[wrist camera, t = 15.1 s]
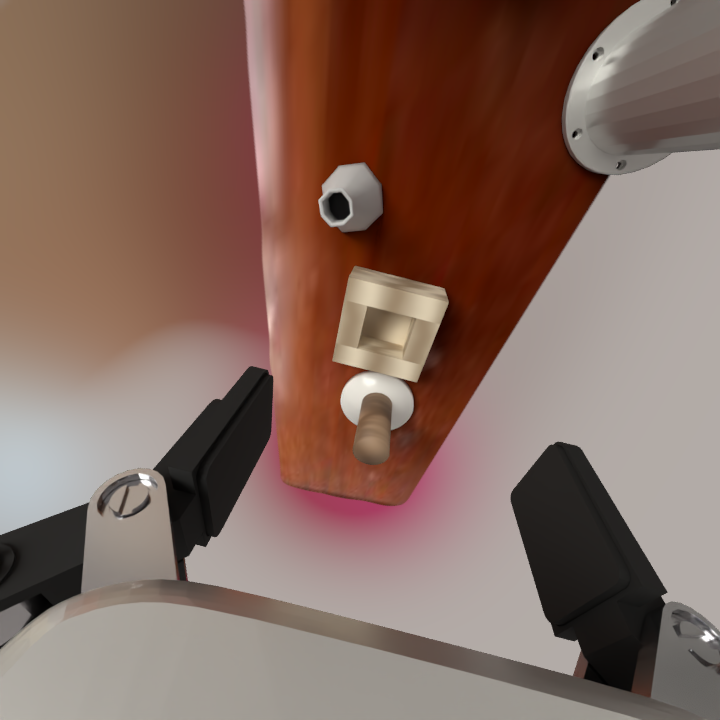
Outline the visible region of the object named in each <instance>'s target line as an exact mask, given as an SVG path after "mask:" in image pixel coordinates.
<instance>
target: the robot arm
mask: <svg viewBox="0 0 720 720" xmlns="http://www.w3.org/2000/svg"><path fill="white" fill-rule="evenodd" d="M671 1H672V6H671V4H670V3H671ZM593 54H595V55H596V58H595V60H593V59H592V56H593ZM562 132H563V137H564V141H565V145H566V147H567V149H568V151H569V153H570V155H571V156H572V157H573V159H574V160H575V161H576V162H577V163H578V164H579V165H581V166H582V167H584V168H585V169H586V170H589V171H592V172H595V173H598V174H607V175H621V174H626V173H631V172H635V171H638V170H641V169H644V168H646V167H649V166H651V165H653V164H655V163H657V162H658V161H660V160H662V159H664V158H665V157H667V156H668V155H670V154H671V153H672V152H684V151H685V152H686V151H700V150H714V149H720V0H641V1H639V2H638V3H636V4H634V5H633V6H631V7H630V8H629V9H627V10H626V11H625V12H623V13H622V14H621V15H619V16H618V17H617V18H616V19H615V20H614V21H613V22H612V23H611V24H610V25H608V26H607V27H606V28H605V29H604V30H603V31H602V32H601V34H600V35H599V36H598V37H597V38H596V40H595V41H594V42H593V43H592V45H591V46H590V47H589V48H588V50H587V52H586V53H585V55H584V56H583V58H582V60H581V61H580V63H579V64H578V66H577V68H576V70H575V73H574V75H573V77H572V79H571V81H570V84H569V87H568V90H567V93H566V97H565V100H564V106H563V113H562ZM573 132H575V133H576V135H575V137H574V138H572V134H573ZM617 163H618V167H617V168H616V165H617ZM272 399H273V376H271V375H269V372H268V370H265V369H261V368H257V367H253V366H251V367H249V368H248V369H247V370H246V371H245V372H244V374H243V375H242V376H241V377H240V379H239V380H238V381H237V382H236V384H235V385H234V386H233V387H232V388H231V390H230V391H229V392H228V393H227V395H226V396H225V397H224V398H223V399H222V400H220V399H215V400H213V401H212V402H211V403H210V404H209V405H208V406H207V407H206V408H205V410H204V411H203V412H202V413H201V414H200V415H199V416H198V418H197V419H196V420H195V421H194V422H193V424H192V425H191V426H190V427H189V428H188V429H187V430H186V432H185V433H184V434H183V435H182V436H181V437H180V439H179V440H178V441H177V442H176V443H175V444H174V446H173V447H172V448H171V449H170V450H169V451H168V453H167V454H166V455H165V456H164V457H163V458H162V460H161V461H160V462H159V463H158V464H157V465H156V467H155V468H154V469H153V470H151V469H141V468H138V469H133V470H128V471H125V472H123V473H120V474H117V475H115V476H114V477H113V478H111V479H109V480H108V481H106V482H105V483H104V484H102V485H101V486H100V487H99V488H98V489H97V490H96V492H95V493H94V494H93V496H92V497H91V499H90V502H89V503H87V504H84V505H81V506H78V507H76V508H73V509H70V510H67V511H65V512H62V513H60V514H57V515H54V516H51V517H48V518H46V519H43V520H40V521H38V522H35V523H32V524H29V525H27V526H24V527H21V528H19V529H16V530H13V531H10V532H8V533H5V534H2V535H0V720H720V632H719V631H718V629H717V628H715V626H714V625H713V624H711V623H710V622H709V621H708V620H707V619H706V618H704V617H703V616H702V615H701V614H699V613H698V612H696V611H695V610H693V609H692V608H690V607H688V606H686V605H684V604H682V603H678V602H669V603H667V604H665V602H664V601H663V599H662V597H661V596H662V595H664V594H666V593H667V591H666V589H665V587H664V586H663V584H662V582H661V581H660V579H659V577H658V576H657V574H656V572H655V571H654V569H653V567H652V566H651V564H650V562H649V561H648V559H647V557H646V556H645V554H644V552H643V551H642V549H641V548H640V546H639V544H638V542H637V541H636V539H635V537H634V536H633V535H632V533H631V531H630V529H629V528H628V526H627V524H626V523H625V521H624V519H623V518H622V516H621V515H620V513H619V511H618V510H617V508H616V506H615V504H614V503H613V501H612V499H611V498H610V496H609V494H608V493H607V491H606V489H605V488H604V486H603V484H602V483H601V481H600V479H599V478H598V476H597V474H596V473H595V471H594V470H593V468H592V466H591V465H590V463H589V461H588V460H587V458H586V456H585V455H584V453H583V451H582V450H581V449H580V448H579V447H578V446H575V445H570V444H567V443H563V442H556V443H555V444H554V445H550V446H548V448H547V449H546V450H545V451H544V452H543V454H542V455H541V456H540V457H539V459H538V460H537V461H536V462H535V464H534V465H533V466H532V467H531V468H530V470H529V471H528V472H527V473H526V475H525V476H524V477H523V478H522V480H521V481H520V482H519V483H518V484H517V486H516V487H515V488H514V489H513V491H512V493H511V504H512V506H513V510H514V514H515V517H516V520H517V524H518V527H519V530H520V534H521V537H522V541H523V544H524V547H525V550H526V554H527V557H528V561H529V564H530V568H531V571H532V574H533V577H534V581H535V584H536V588H537V591H538V594H539V598H540V601H541V605H542V608H543V611H544V614H545V617H546V618H547V620H548V621H549V622H550V623H551V625H552V628H553V632H554V635H555V636H556V637H559V638H564V639H567V640H571V641H576V640H577V639H578V642H579V645H580V647H581V652H580V655H579V659H578V661H577V665H576V668H575V671H574V674H573V676H570V675H567V674H562V673H559V672H555V671H551V670H548V669H544V668H540V667H536V666H532V665H529V664H525V663H521V662H517V661H513V660H510V659H506V658H502V657H498V656H494V655H491V654H487V653H482V652H479V651H475V650H471V649H467V648H464V647H460V646H456V645H452V644H448V643H444V642H440V641H436V640H433V639H429V638H425V637H421V636H417V635H413V634H409V633H405V632H402V631H398V630H394V629H390V628H385V627H382V626H378V625H374V624H370V623H366V622H362V621H358V620H355V619H350V618H346V617H342V616H338V615H334V614H331V613H327V612H323V611H319V610H314V609H311V608H307V607H303V606H299V605H295V604H291V603H287V602H283V601H279V600H275V599H270V598H266V597H262V596H258V595H253V594H249V593H244V592H240V591H236V590H232V589H227V588H223V587H219V586H213V585H207V584H201V583H195V582H189V581H188V578H187V570H186V564H185V557H187V556H189V555H190V553H191V551H192V550H193V548H194V546H195V544H196V545H200V546H204V547H206V546H207V544H208V542H209V540H210V538H211V536H213V537H217V536H218V535H219V533H220V532H221V530H222V528H223V526H224V524H225V522H226V521H227V519H228V517H229V515H230V513H231V511H232V509H233V507H234V505H235V503H236V501H237V500H238V497H239V496H240V494H241V492H242V490H243V488H244V486H245V484H246V482H247V481H248V479H249V477H250V475H251V473H252V471H253V469H254V467H255V465H256V463H257V462H258V460H259V458H260V456H261V454H262V452H263V450H264V448H265V446H266V444H267V442H268V440H269V438H270V435H271V422H272Z"/></svg>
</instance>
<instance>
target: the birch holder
mask: <svg viewBox="0 0 720 720" xmlns="http://www.w3.org/2000/svg"><path fill="white" fill-rule="evenodd" d="M448 303H449V301H448V298H447V295H446V292H445V289H444V288H441V287H437V286H433V285H429V284H425V283H421V282H417V281H413V280H409V279H405V278H401V277H397V276H394V275H390V274H386V273H382V272H378V271H374V270H370V269H366V268H362V267H358V266H355V267H354V269H353V270H352V272H351V274H350V276H349V279H348V284H347V289H346V294H345V299H344V304H343V309H342V315H341V320H340V325H339V330H338V335H337V340H336V345H335V350H334V355H333V361H334V362H338V363H342V364H346V365H350V366H354V367H358V368H362V369H366V370H370V371H374V372H378V373H382V374H386V375H390V376H394V377H397V378H401V379H405V380H409V381H413V382H417V381H418V378H419V376H420V373H421V371H422V368H423V366H424V363H425V361H426V358H427V356H428V353H429V351H430V348H431V346H432V343H433V341H434V338H435V336H436V333H437V331H438V328H439V326H440V323H441V321H442V318H443V316H444V313H445V311H446V308H447V306H448Z"/></svg>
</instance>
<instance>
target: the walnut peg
mask: <svg viewBox="0 0 720 720" xmlns="http://www.w3.org/2000/svg"><path fill="white" fill-rule="evenodd" d="M391 417H392V402H391V400H390V398H389V397H388V396H386V395H384V394H382V393H370V394H368V395H366V396H365V397H364V398H363V400H362V404H361V409H360V414H359V420H358V425H357V430H356V435H355V440H354V446H353V454H354V456H355V457H356V458H357V459H358V460H359V461H361V462H363V463H365V464H370V465H376V464H381V463H383V462H385V461H386V460H387V459H388V457H389V450H390V433H391Z"/></svg>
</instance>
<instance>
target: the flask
mask: <svg viewBox="0 0 720 720" xmlns="http://www.w3.org/2000/svg"><path fill="white" fill-rule="evenodd" d="M322 191H323V196H322V197H321V198H320V199H319V207H320V213H321V217H322V218H323V219H324V220H325V221H326V222H327V224H328V225H329V226H330V227H338V228H339V229H340V230H341V232H351V231H363V230H366V229H367V228H368V227H369V226H370V225H371V224H372V223H373V222H374V221H375V220H376V219H377V218H378V217H379V216H380V215H382V214H383V201H382V185H381V183H380V182H379V181H378V179H377V178H376V177H375V175H374V174H373V173H372V172H371V170H370V169H369V168H368V166H367V165H366V164H365V163H357V164H349V165H341V166H338V168H337V169H336V170H335V171H334V172H333V173H332V175H331V176H330V177H329V178H328V179H327V180H326V181H325V183H324V184H323V185H322Z"/></svg>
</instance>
